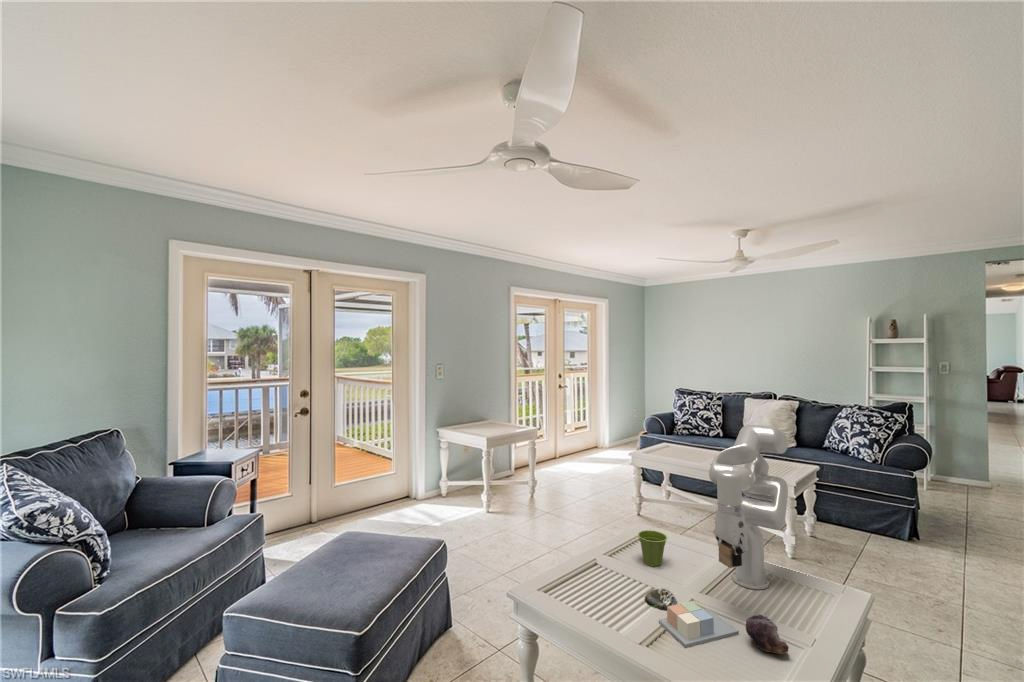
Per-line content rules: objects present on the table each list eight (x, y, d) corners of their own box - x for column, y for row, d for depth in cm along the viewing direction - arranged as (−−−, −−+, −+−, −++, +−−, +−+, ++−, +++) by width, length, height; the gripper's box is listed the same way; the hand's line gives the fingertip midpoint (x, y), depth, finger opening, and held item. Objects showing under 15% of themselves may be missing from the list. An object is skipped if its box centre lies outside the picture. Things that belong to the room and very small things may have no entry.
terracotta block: (679, 618, 150) (679, 603, 150) (689, 627, 146) (689, 611, 146) (667, 621, 149) (667, 606, 149) (676, 630, 144) (676, 614, 144)
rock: (769, 639, 143) (738, 639, 142) (767, 609, 144) (736, 609, 144) (794, 658, 131) (760, 659, 131) (791, 626, 133) (757, 626, 132)
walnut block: (730, 559, 158) (730, 541, 158) (741, 565, 153) (741, 547, 153) (718, 561, 156) (718, 543, 156) (730, 567, 152) (729, 549, 152)
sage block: (692, 615, 152) (692, 601, 152) (702, 623, 147) (702, 608, 147) (680, 618, 150) (679, 603, 150) (690, 626, 146) (689, 611, 146)
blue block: (702, 624, 147) (702, 609, 147) (713, 633, 142) (713, 617, 142) (690, 627, 145) (690, 612, 145) (701, 636, 141) (700, 620, 141)
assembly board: (708, 611, 156) (708, 608, 156) (738, 634, 143) (738, 631, 143) (658, 622, 149) (658, 619, 149) (685, 647, 137) (685, 644, 137)
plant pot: (671, 569, 185) (671, 541, 185) (642, 569, 185) (642, 541, 185) (662, 556, 197) (662, 529, 197) (634, 556, 197) (634, 529, 197)
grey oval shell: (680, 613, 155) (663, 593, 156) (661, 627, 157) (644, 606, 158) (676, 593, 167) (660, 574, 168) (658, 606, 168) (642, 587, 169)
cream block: (689, 627, 145) (689, 612, 145) (700, 636, 141) (700, 620, 141) (677, 630, 144) (677, 615, 144) (687, 639, 139) (687, 623, 139)
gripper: (759, 515, 148) (759, 571, 148) (719, 498, 164) (720, 549, 164) (740, 518, 146) (741, 575, 146) (702, 501, 162) (703, 552, 162)
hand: (730, 561), depth 155 cm, fingers closed on walnut block, 5 cm apart
